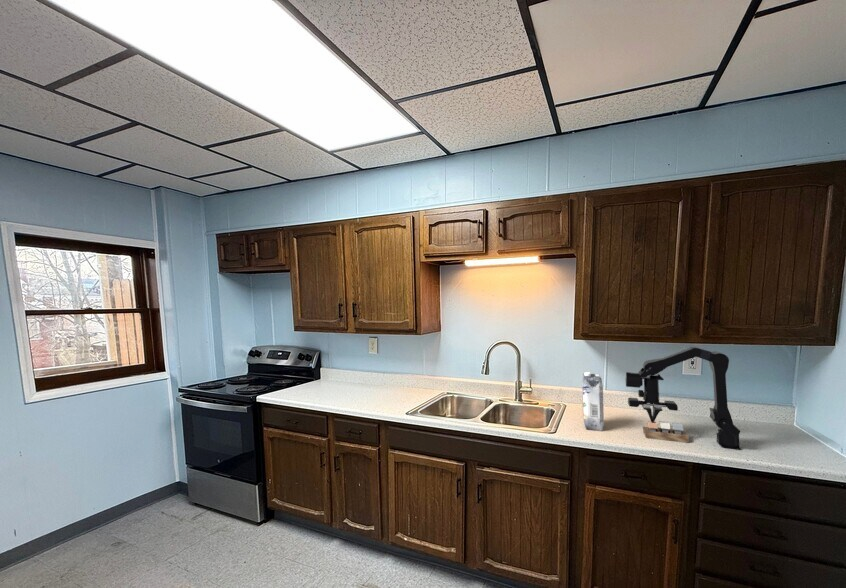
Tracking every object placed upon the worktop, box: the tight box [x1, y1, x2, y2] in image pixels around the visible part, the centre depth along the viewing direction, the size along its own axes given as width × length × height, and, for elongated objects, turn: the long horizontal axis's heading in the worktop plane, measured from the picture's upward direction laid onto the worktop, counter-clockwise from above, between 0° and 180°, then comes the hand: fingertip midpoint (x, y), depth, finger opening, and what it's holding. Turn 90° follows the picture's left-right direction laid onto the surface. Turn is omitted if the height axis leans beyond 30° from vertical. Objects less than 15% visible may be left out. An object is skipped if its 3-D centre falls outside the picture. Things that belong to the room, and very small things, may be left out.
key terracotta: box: [646, 420, 659, 432], centre depth 162 cm, size 3×3×5 cm
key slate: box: [671, 422, 684, 434], centre depth 159 cm, size 3×3×5 cm
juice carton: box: [581, 371, 605, 432], centre depth 175 cm, size 9×10×27 cm
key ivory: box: [658, 420, 671, 433], centre depth 161 cm, size 3×3×5 cm
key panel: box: [642, 426, 690, 444], centre depth 161 cm, size 16×7×3 cm, turn 67°
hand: (652, 422), depth 162 cm, fingers closed, pressing on key terracotta
